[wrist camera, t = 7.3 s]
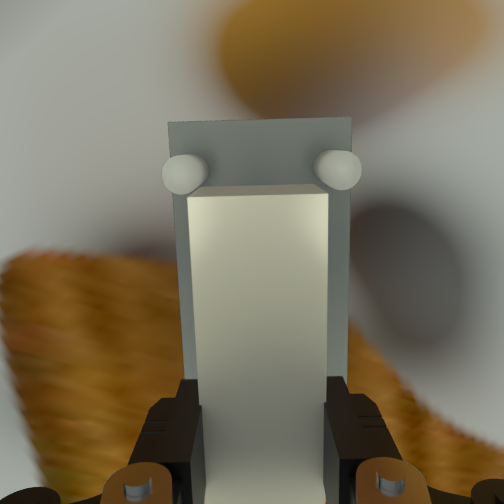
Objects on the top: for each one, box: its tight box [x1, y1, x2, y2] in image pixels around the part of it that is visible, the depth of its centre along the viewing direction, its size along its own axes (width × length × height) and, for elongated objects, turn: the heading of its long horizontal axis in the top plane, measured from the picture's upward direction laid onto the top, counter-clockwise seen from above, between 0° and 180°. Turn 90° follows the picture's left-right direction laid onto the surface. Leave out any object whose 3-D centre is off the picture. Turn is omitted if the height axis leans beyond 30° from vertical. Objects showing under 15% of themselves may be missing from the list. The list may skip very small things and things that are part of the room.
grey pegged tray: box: [161, 117, 362, 386], centre depth 20 cm, size 16×8×4 cm, turn 2°
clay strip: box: [187, 184, 328, 504], centre depth 12 cm, size 12×3×2 cm, turn 2°
